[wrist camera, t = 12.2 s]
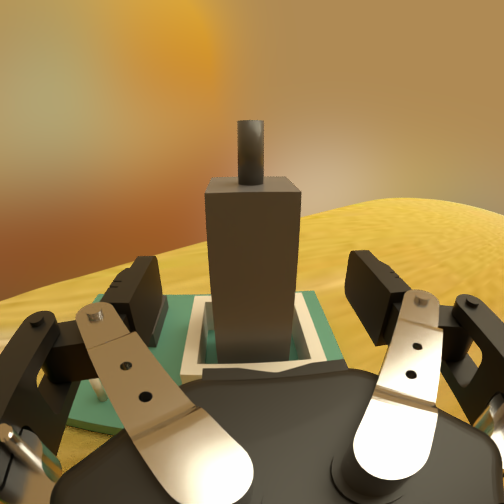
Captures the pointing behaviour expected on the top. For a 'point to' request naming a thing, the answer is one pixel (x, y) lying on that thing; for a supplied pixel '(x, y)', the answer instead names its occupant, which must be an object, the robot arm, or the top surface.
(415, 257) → the top surface
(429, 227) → the top surface
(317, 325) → the board
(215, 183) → the plug
